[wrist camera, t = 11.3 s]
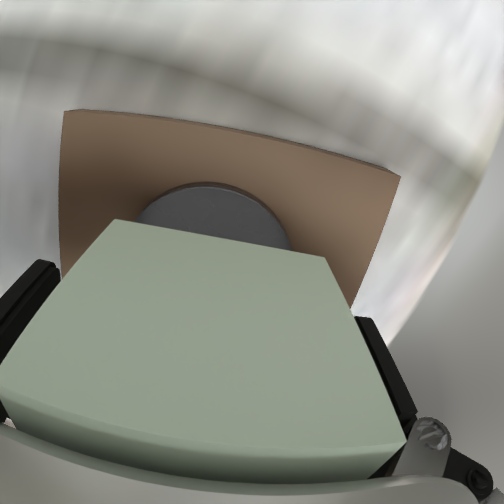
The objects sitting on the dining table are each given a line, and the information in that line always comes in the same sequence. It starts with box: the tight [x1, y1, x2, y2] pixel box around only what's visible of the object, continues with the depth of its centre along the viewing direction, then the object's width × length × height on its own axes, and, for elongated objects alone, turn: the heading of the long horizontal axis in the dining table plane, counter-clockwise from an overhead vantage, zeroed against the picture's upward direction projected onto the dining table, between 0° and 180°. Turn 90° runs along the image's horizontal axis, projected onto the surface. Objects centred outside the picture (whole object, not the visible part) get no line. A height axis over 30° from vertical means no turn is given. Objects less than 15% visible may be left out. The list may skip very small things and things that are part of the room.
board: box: [59, 109, 401, 308], centre depth 13 cm, size 24×14×10 cm, turn 167°
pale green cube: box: [0, 219, 407, 484], centre depth 7 cm, size 6×6×6 cm
